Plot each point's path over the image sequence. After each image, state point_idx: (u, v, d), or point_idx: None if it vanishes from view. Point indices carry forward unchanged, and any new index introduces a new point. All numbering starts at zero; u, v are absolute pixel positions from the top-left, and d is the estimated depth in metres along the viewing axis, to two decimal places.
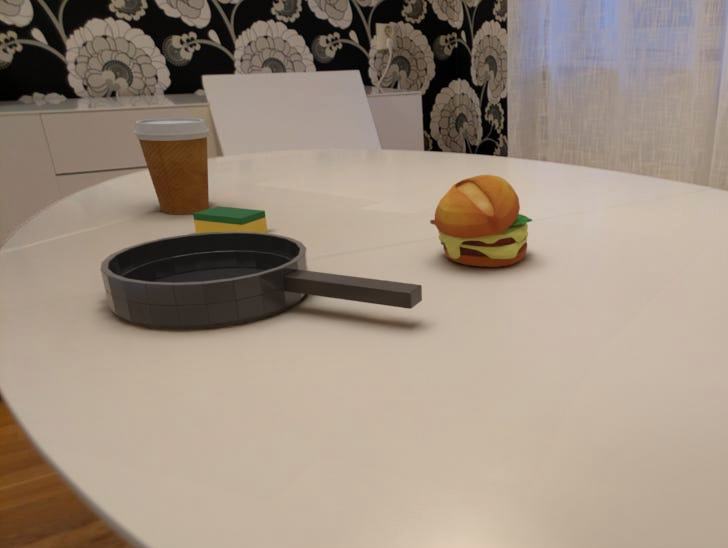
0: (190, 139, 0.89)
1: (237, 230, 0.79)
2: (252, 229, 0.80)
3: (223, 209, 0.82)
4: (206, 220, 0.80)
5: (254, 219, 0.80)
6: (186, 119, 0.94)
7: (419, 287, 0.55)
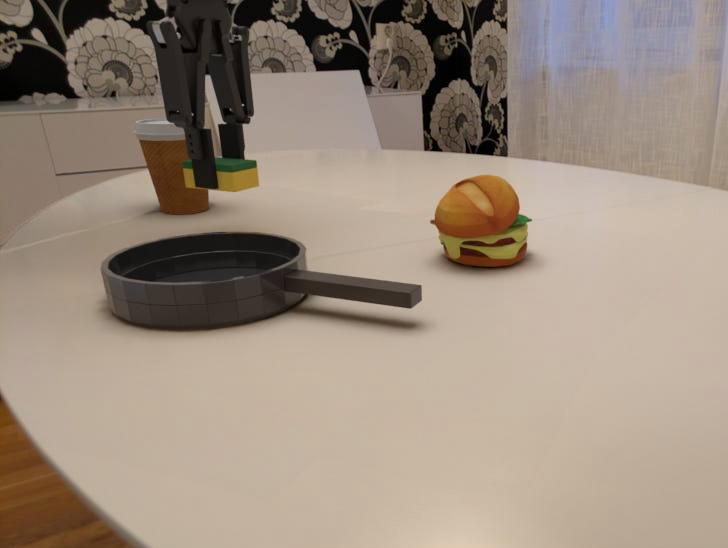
0: None
1: (228, 178, 0.77)
2: (243, 178, 0.78)
3: None
4: None
5: (245, 168, 0.78)
6: None
7: (419, 287, 0.55)
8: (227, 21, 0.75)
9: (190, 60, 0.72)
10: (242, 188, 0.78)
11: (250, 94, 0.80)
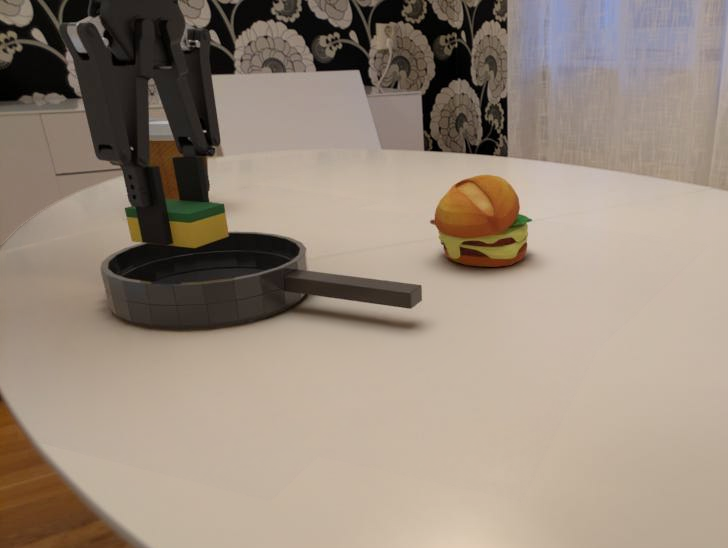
0: None
1: (184, 230, 0.57)
2: (206, 229, 0.59)
3: (168, 202, 0.61)
4: None
5: (208, 215, 0.59)
6: None
7: (419, 287, 0.55)
8: (178, 22, 0.56)
9: (126, 75, 0.53)
10: (205, 242, 0.59)
11: (214, 117, 0.61)
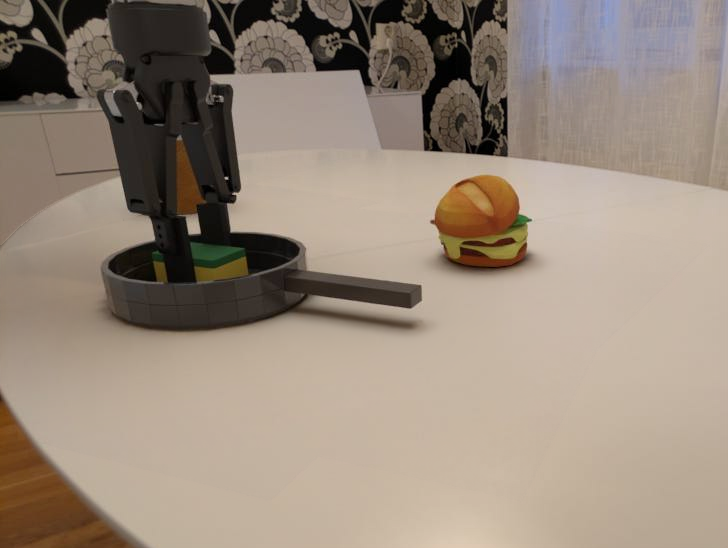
0: None
1: (208, 275, 0.61)
2: (228, 273, 0.62)
3: (192, 246, 0.64)
4: None
5: (231, 260, 0.62)
6: None
7: (419, 287, 0.55)
8: (204, 80, 0.59)
9: (156, 134, 0.56)
10: None
11: (236, 166, 0.65)
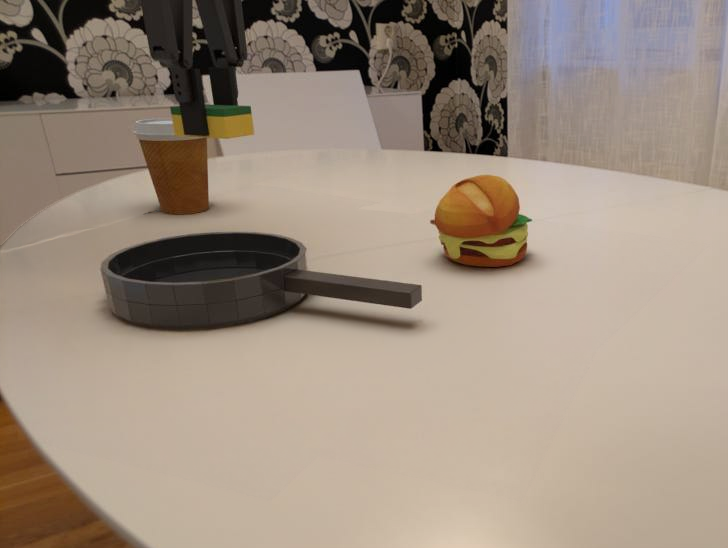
0: (190, 139, 0.89)
1: (219, 123, 0.70)
2: (236, 125, 0.72)
3: None
4: None
5: (238, 113, 0.72)
6: None
7: (419, 287, 0.55)
8: None
9: None
10: (235, 135, 0.72)
11: (243, 35, 0.74)
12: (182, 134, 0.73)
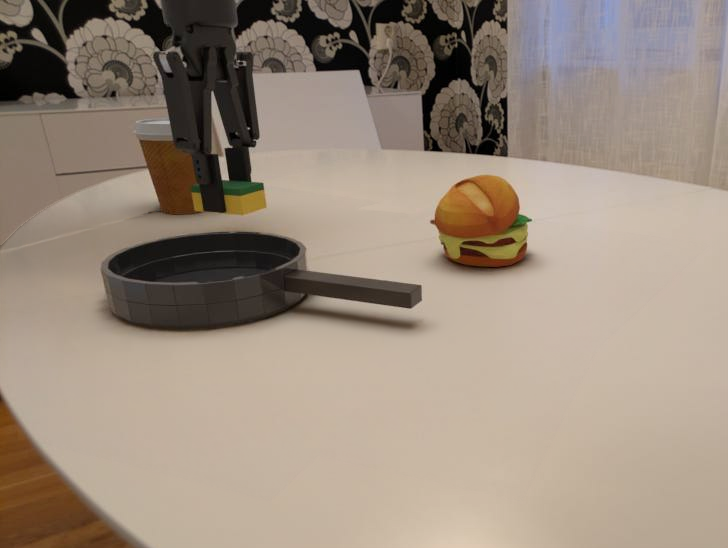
0: None
1: (236, 201, 0.78)
2: (251, 201, 0.79)
3: None
4: None
5: (252, 191, 0.79)
6: None
7: (419, 287, 0.55)
8: (232, 47, 0.76)
9: (196, 88, 0.73)
10: (250, 211, 0.79)
11: (255, 118, 0.81)
12: (201, 209, 0.80)
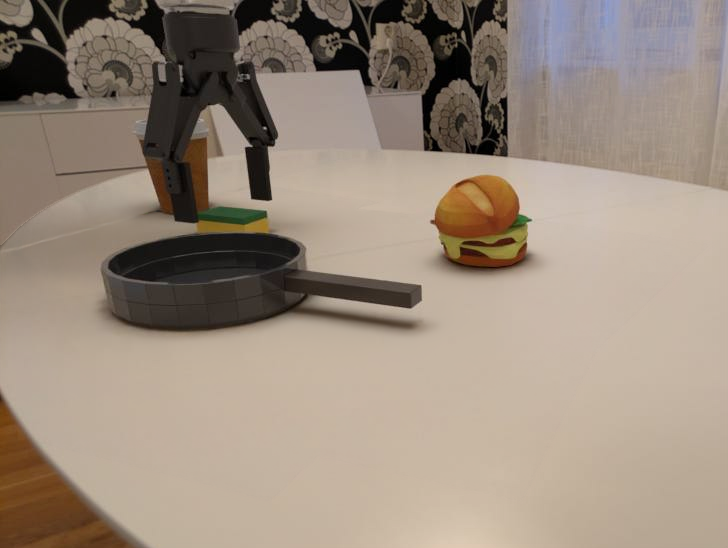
0: (190, 139, 0.89)
1: (239, 230, 0.79)
2: (254, 229, 0.80)
3: (225, 209, 0.82)
4: (208, 220, 0.80)
5: (256, 219, 0.80)
6: None
7: (419, 287, 0.55)
8: (233, 71, 0.77)
9: (187, 102, 0.72)
10: None
11: (270, 120, 0.84)
12: None
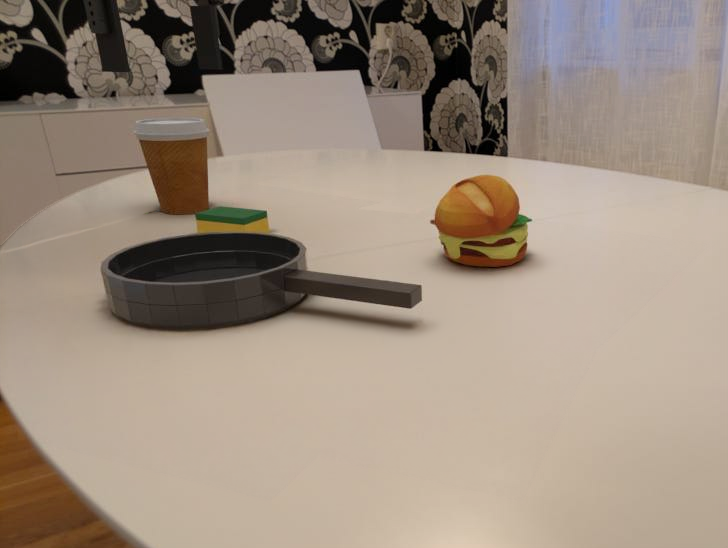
0: (190, 139, 0.89)
1: (239, 230, 0.79)
2: (254, 229, 0.80)
3: (225, 209, 0.82)
4: (208, 220, 0.80)
5: (256, 219, 0.80)
6: (186, 119, 0.94)
7: (419, 287, 0.55)
8: None
9: None
10: None
11: None
12: None
